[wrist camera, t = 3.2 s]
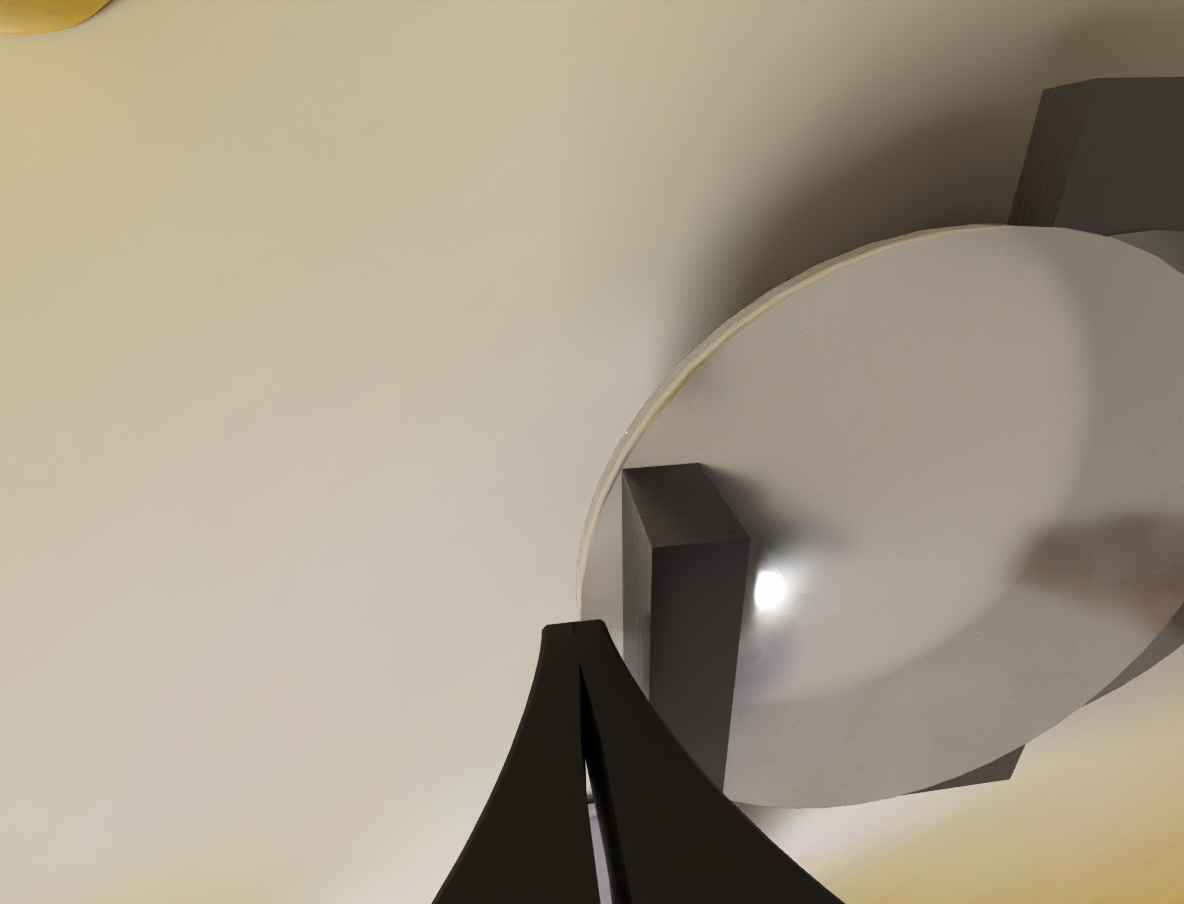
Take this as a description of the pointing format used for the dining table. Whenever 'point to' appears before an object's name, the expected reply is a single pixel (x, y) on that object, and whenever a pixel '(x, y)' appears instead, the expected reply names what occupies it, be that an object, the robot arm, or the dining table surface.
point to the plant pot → (44, 15)
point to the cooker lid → (900, 511)
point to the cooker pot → (1105, 226)
